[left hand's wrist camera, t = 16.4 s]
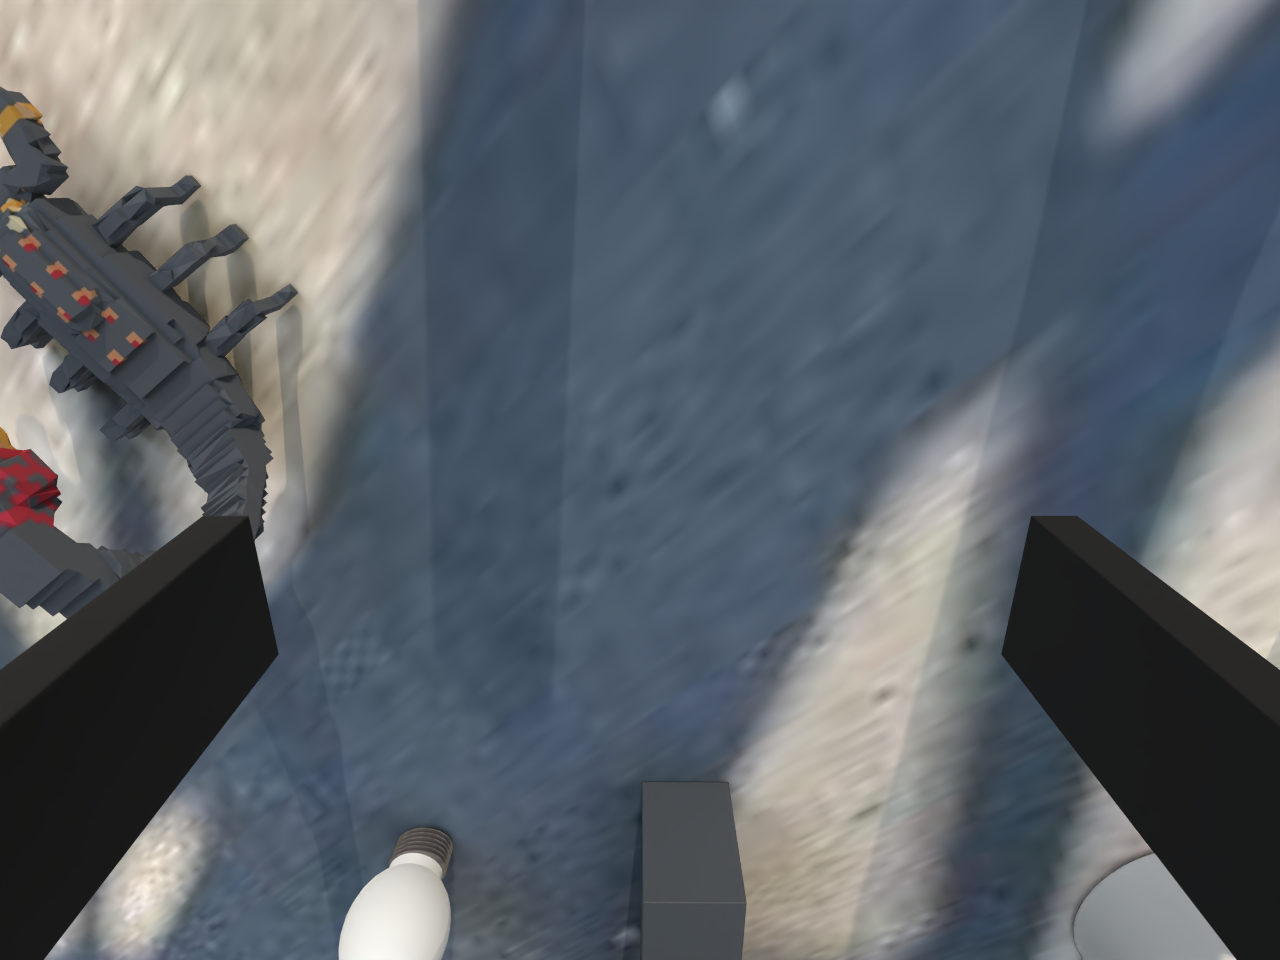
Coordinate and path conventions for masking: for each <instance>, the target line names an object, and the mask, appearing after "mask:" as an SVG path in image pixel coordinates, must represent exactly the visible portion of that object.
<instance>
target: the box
mask: <svg viewBox="0 0 1280 960" xmlns="http://www.w3.org/2000/svg"><path fill="white" fill-rule="evenodd" d="M745 913H746V897H745V890H744V884H743V877H742V870H741V864H740V857H739V850H738V843H737V837H736V830H735V823H734V817H733V810H732V803H731V796H730V790H729V783H728V782H642V849H641V938H640V960H742V948H743V937H744V925H745Z"/></svg>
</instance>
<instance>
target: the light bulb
mask: <svg viewBox="0 0 1280 960" xmlns="http://www.w3.org/2000/svg"><path fill="white" fill-rule="evenodd" d="M452 851H453V843H452V841H451V839H450V838H449V837H448V836H447V835H446V834H444V833H443V832H440V831H438V830H435V829H431V828H417V829H412V830H410V831H407V832H405V833H404V834H402V835H401V836H400V837H399V839H398V840H397V842H396V845H395V848H394V850H393V854H392V856H391V859H390V862H389V864H388V868H387V869H386V870H384V871H383V872H381V873H380V874H378V875H376V876H375V877H374V878H373V879H372V880H371V881H370V882H369V883H368V884H367V885H366V886H365V887H364V888H363V889H362V891H361V892H360V893H359V895H358V896H357V898H356V899H355V901H354V902H353V904H352V906H351V908H350V910H349V912H348V914H347V916H346V919H345V922H344V925H343V929H342V932H341V936H340V943H339V960H441V959H442V956H443V954H444V951H445V948H446V945H447V942H448V938H449V932H450V925H451V909H450V903H449V898H448V894H447V892H446V889H445V887H444V885H443V883H442V881H441V880H442V879H443V878H444V876H445V875H446V872H447V868H448V865H449V861H450V857H451V854H452Z"/></svg>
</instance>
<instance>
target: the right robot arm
mask: <svg viewBox="0 0 1280 960" xmlns="http://www.w3.org/2000/svg"><path fill="white" fill-rule="evenodd" d="M1073 935H1074V941H1075V944H1076V947H1077V949H1078V951H1079V953H1080V955H1081V957H1082V959H1083V960H1236V959H1235V957H1234V956H1233V955H1232V953H1231V952H1230V951H1229V949H1228V948H1227V947H1226V946H1225V944H1224V943H1223V942H1222V940H1221V939H1220V938H1219V936H1218V935H1217V934H1216V933H1215V931H1214V930H1213V929H1212V927H1211V926H1210V925H1209V923H1208V922H1207V921H1206V920H1205V918H1204V917H1203V916H1202V914H1201V913H1200V912H1199V910H1198V909H1197V908H1196V907H1195V905H1194V904H1193V903H1192V901H1191V900H1190V899H1189V897H1188V896H1187V895H1186V894H1185V892H1184V891H1183V890H1182V888H1181V887H1180V886H1179V884H1178V883H1177V882H1176V881H1175V879H1174V878H1173V877H1172V875H1171V874H1170V873H1169V871H1168V870H1167V869H1166V868H1165V866H1164V865H1163V864H1162V862H1161V861H1160V860H1159V858H1158V857H1157V856H1156V855H1155V853H1152V854H1149V855H1146V856H1144V857H1141V858H1139V859H1136V860H1134V861H1132V862H1130V863H1128V864H1126V865H1124V866H1122V867H1120V868H1119V869H1117V870H1116V871H1114V872H1113V873H1111V874H1110V875H1108V876H1107V877H1106V878H1104V879H1103V880H1102V881H1101V882H1100V883H1099V884H1097V885H1096V886H1095V887H1094V888H1093V889H1092V890H1091V892H1090V893H1089V894H1088V895H1087V897H1086V898H1085V899H1084V901H1083V902H1082V904H1081V906H1080V908H1079V910H1078V912H1077V914H1076V917H1075V921H1074V927H1073Z"/></svg>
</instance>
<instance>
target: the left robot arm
mask: <svg viewBox="0 0 1280 960" xmlns="http://www.w3.org/2000/svg"><path fill="white" fill-rule="evenodd" d="M277 656H278V649H277V645H276V640H275V635H274V631H273V626H272V622H271V617H270V612H269V608H268V603H267V598H266V594H265V589H264V584H263V580H262V575H261V570H260V566H259V561H258V556H257V552H256V547H255V543H254V538H253V533H252V529H251V524H250V519H249V516H202V517H201V518H200V519H198V520H197V521H196V522H195V523H193V524H192V525H191V526H189V527H188V528H187V529H185V530H184V531H183V532H181V533H180V534H179V535H177V536H176V537H175V538H173V539H172V540H171V541H170V542H168V543H167V544H166V545H164V546H163V547H162V548H160V549H159V550H158V551H156V552H155V553H154V554H152V555H151V556H150V557H148V558H147V559H146V560H144V561H143V562H142V563H141V564H139V565H138V566H137V567H135V568H134V569H133V570H131V571H130V572H129V573H127V574H126V575H125V576H123V577H122V578H121V579H119V580H118V581H117V582H116V583H114V584H113V585H112V586H110V587H109V588H108V589H106V590H105V591H104V592H102V593H101V594H100V595H98V596H97V597H96V598H94V599H93V600H92V601H90V602H89V603H88V604H87V605H85V606H84V607H83V608H81V609H80V610H79V611H77V612H76V613H75V614H73V615H72V616H71V617H69V618H68V619H67V620H65V621H64V622H63V623H62V624H60V625H59V626H58V627H56V628H55V629H54V630H52V631H51V632H50V633H48V634H47V635H46V636H44V637H43V638H42V639H40V640H39V641H38V642H36V643H35V644H34V645H33V646H31V647H30V648H29V649H27V650H26V651H25V652H23V653H22V654H21V655H19V656H18V657H17V658H15V659H14V660H13V661H11V662H10V663H9V664H7V665H6V666H5V667H4V668H2V669H1V670H0V960H44V959H45V957H46V956H47V955H48V953H49V952H50V951H51V949H52V948H53V947H54V946H55V944H56V943H57V942H58V940H59V939H60V938H61V936H62V935H63V934H64V933H65V931H66V930H67V929H68V927H69V926H70V925H71V923H72V922H73V921H74V920H75V918H76V917H77V916H78V914H79V913H80V912H81V910H82V909H83V908H84V907H85V905H86V904H87V903H88V901H89V900H90V899H91V897H92V896H93V895H94V894H95V892H96V891H97V890H98V888H99V887H100V886H101V884H102V883H103V882H104V881H105V879H106V878H107V877H108V875H109V874H110V873H111V871H112V870H113V869H114V868H115V866H116V865H117V864H118V862H119V861H120V860H121V858H122V857H123V856H124V855H125V853H126V852H127V851H128V849H129V848H130V847H131V845H132V844H133V843H134V842H135V840H136V839H137V838H138V836H139V835H140V834H141V832H142V831H143V830H144V829H145V827H146V826H147V825H148V823H149V822H150V821H151V819H152V818H153V817H154V816H155V814H156V813H157V812H158V810H159V809H160V808H161V806H162V805H163V804H164V803H165V801H166V800H167V799H168V797H169V796H170V795H171V793H172V792H173V791H174V790H175V788H176V787H177V786H178V784H179V783H180V782H181V780H182V779H183V778H184V777H185V775H186V774H187V773H188V771H189V770H190V769H191V767H192V766H193V765H194V764H195V762H196V761H197V760H198V758H199V757H200V756H201V754H202V753H203V752H204V751H205V749H206V748H207V747H208V745H209V744H210V743H211V741H212V740H213V739H214V738H215V736H216V735H217V734H218V732H219V731H220V730H221V728H222V727H223V726H224V725H225V723H226V722H227V721H228V719H229V718H230V717H231V715H232V714H233V713H234V712H235V710H236V709H237V708H238V706H239V705H240V704H241V702H242V701H243V700H244V699H245V697H246V696H247V695H248V693H249V692H250V691H251V689H252V688H253V687H254V686H255V684H256V683H257V682H258V680H259V679H260V678H261V676H262V675H263V674H264V673H265V671H266V670H267V669H268V667H269V666H270V665H271V663H272V662H273V661H274V660H275V658H276V657H277ZM1002 656H1003V657H1004V658H1005V660H1006V661H1007V662H1008V663H1009V665H1010V666H1011V667H1012V669H1013V670H1014V671H1015V673H1016V674H1017V675H1018V676H1019V678H1020V679H1021V680H1022V682H1023V683H1024V684H1025V686H1026V687H1027V688H1028V689H1029V691H1030V692H1031V693H1032V695H1033V696H1034V697H1035V699H1036V700H1037V701H1038V702H1039V704H1040V705H1041V706H1042V708H1043V709H1044V710H1045V712H1046V713H1047V714H1048V715H1049V717H1050V718H1051V719H1052V721H1053V722H1054V723H1055V725H1056V726H1057V727H1058V728H1059V730H1060V731H1061V732H1062V734H1063V735H1064V736H1065V738H1066V739H1067V740H1068V741H1069V743H1070V744H1071V745H1072V747H1073V748H1074V749H1075V751H1076V752H1077V753H1078V754H1079V756H1080V757H1081V758H1082V760H1083V761H1084V762H1085V764H1086V765H1087V766H1088V767H1089V769H1090V770H1091V771H1092V773H1093V774H1094V775H1095V777H1096V778H1097V779H1098V780H1099V782H1100V783H1101V784H1102V786H1103V787H1104V788H1105V790H1106V791H1107V792H1108V793H1109V795H1110V796H1111V797H1112V799H1113V800H1114V801H1115V803H1116V804H1117V805H1118V806H1119V808H1120V809H1121V810H1122V812H1123V813H1124V814H1125V816H1126V817H1127V818H1128V819H1129V821H1130V822H1131V823H1132V825H1133V826H1134V827H1135V829H1136V830H1137V831H1138V832H1139V834H1140V835H1141V836H1142V838H1143V839H1144V840H1145V842H1146V843H1147V844H1148V845H1149V847H1150V848H1151V849H1152V851H1153V852H1154V853H1155V855H1156V856H1157V857H1158V858H1159V860H1160V861H1161V862H1162V864H1163V865H1164V866H1165V868H1166V869H1167V870H1168V871H1169V873H1170V874H1171V875H1172V877H1173V878H1174V879H1175V881H1176V882H1177V883H1178V884H1179V886H1180V887H1181V888H1182V890H1183V891H1184V892H1185V894H1186V895H1187V896H1188V897H1189V899H1190V900H1191V901H1192V903H1193V904H1194V905H1195V907H1196V908H1197V909H1198V910H1199V912H1200V913H1201V914H1202V916H1203V917H1204V918H1205V920H1206V921H1207V922H1208V923H1209V925H1210V926H1211V927H1212V929H1213V930H1214V931H1215V933H1216V934H1217V935H1218V936H1219V938H1220V939H1221V940H1222V942H1223V943H1224V944H1225V946H1226V947H1227V948H1228V949H1229V951H1230V952H1231V953H1232V955H1233V956H1234V957H1235V959H1236V960H1280V670H1279V669H1278V668H1276V667H1275V666H1274V665H1272V664H1271V663H1270V662H1269V661H1267V660H1266V659H1265V658H1263V657H1262V656H1261V655H1259V654H1258V653H1257V652H1255V651H1254V650H1253V649H1251V648H1250V647H1249V646H1247V645H1246V644H1245V643H1244V642H1242V641H1241V640H1240V639H1238V638H1237V637H1236V636H1234V635H1233V634H1232V633H1230V632H1229V631H1228V630H1226V629H1225V628H1224V627H1222V626H1221V625H1220V624H1218V623H1217V622H1216V621H1215V620H1213V619H1212V618H1211V617H1209V616H1208V615H1207V614H1205V613H1204V612H1203V611H1201V610H1200V609H1199V608H1197V607H1196V606H1195V605H1193V604H1192V603H1191V602H1190V601H1188V600H1187V599H1186V598H1184V597H1183V596H1182V595H1180V594H1179V593H1178V592H1176V591H1175V590H1174V589H1172V588H1171V587H1170V586H1168V585H1167V584H1166V583H1164V582H1163V581H1162V580H1161V579H1159V578H1158V577H1157V576H1155V575H1154V574H1153V573H1151V572H1150V571H1149V570H1147V569H1146V568H1145V567H1143V566H1142V565H1141V564H1139V563H1138V562H1137V561H1136V560H1134V559H1133V558H1132V557H1130V556H1129V555H1128V554H1126V553H1125V552H1124V551H1122V550H1121V549H1120V548H1118V547H1117V546H1116V545H1114V544H1113V543H1112V542H1110V541H1109V540H1108V539H1107V538H1105V537H1104V536H1103V535H1101V534H1100V533H1099V532H1097V531H1096V530H1095V529H1093V528H1092V527H1091V526H1089V525H1088V524H1087V523H1085V522H1084V521H1083V520H1082V519H1080V518H1079V517H1078V516H1031V519H1030V524H1029V529H1028V533H1027V538H1026V543H1025V547H1024V552H1023V556H1022V561H1021V566H1020V570H1019V575H1018V580H1017V584H1016V589H1015V594H1014V598H1013V603H1012V608H1011V612H1010V617H1009V622H1008V626H1007V631H1006V635H1005V640H1004V645H1003V649H1002Z"/></svg>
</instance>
